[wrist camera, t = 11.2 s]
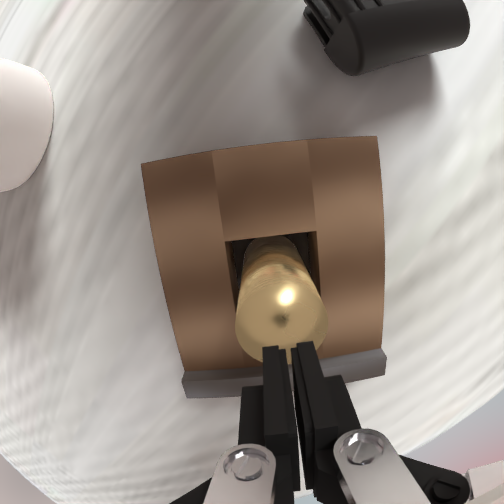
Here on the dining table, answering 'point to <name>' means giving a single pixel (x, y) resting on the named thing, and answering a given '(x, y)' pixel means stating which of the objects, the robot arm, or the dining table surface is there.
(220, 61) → the dining table surface
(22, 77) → the cup
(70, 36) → the dining table surface
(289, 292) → the gold peg
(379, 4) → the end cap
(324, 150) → the jig
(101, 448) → the dining table surface
